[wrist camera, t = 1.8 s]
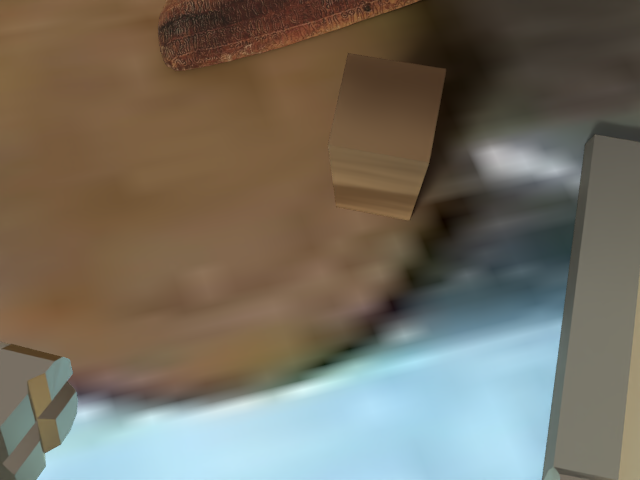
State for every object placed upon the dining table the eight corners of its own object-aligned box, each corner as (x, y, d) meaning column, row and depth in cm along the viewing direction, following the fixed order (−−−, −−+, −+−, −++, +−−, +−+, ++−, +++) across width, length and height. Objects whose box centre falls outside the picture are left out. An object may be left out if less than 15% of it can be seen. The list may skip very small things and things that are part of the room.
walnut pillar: (409, 220, 35) (429, 162, 25) (336, 206, 35) (327, 144, 26) (422, 151, 36) (446, 69, 26) (350, 138, 36) (348, 53, 27)
